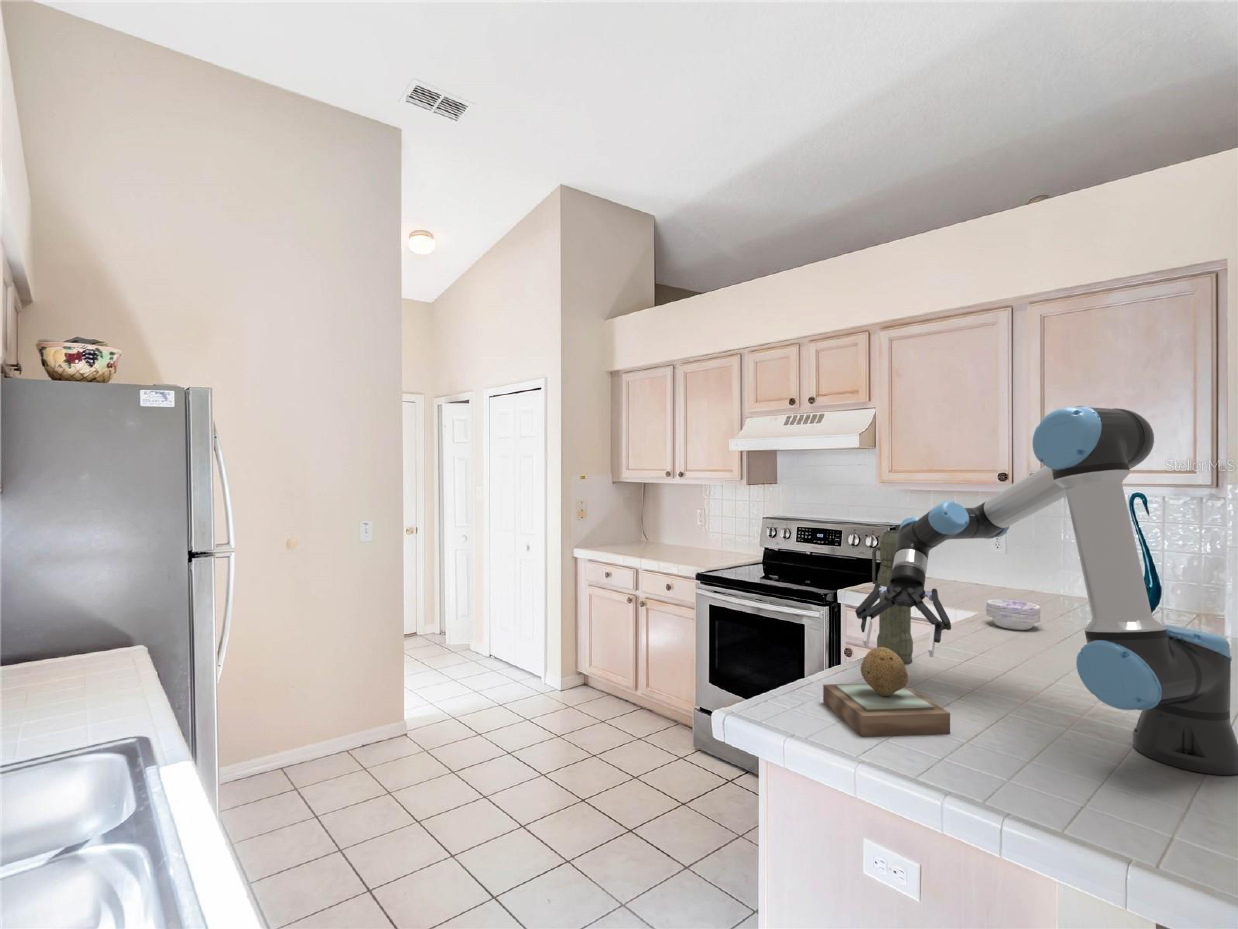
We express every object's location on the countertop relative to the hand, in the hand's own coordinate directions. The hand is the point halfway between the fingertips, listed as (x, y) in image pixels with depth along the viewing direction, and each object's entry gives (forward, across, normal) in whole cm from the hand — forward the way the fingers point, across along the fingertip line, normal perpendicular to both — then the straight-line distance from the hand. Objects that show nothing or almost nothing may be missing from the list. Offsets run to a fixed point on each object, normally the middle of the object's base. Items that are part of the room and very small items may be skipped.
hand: (897, 649), depth 142 cm
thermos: (-15, +6, -32) cm, 36 cm away
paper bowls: (-59, -19, -76) cm, 98 cm away
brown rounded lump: (+13, +1, +3) cm, 14 cm away
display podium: (+16, +1, 0) cm, 17 cm away
